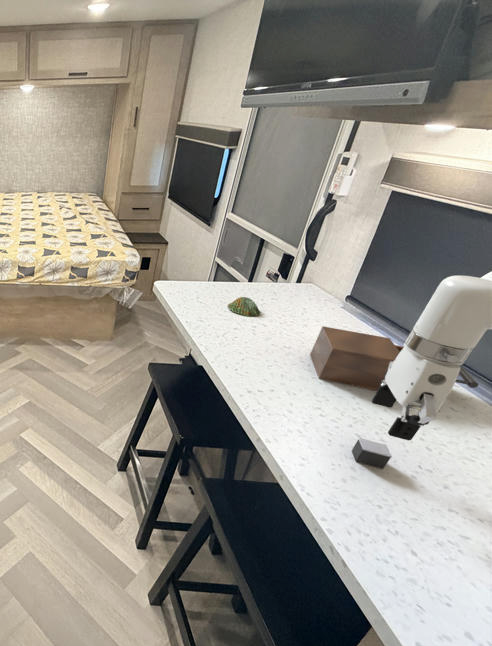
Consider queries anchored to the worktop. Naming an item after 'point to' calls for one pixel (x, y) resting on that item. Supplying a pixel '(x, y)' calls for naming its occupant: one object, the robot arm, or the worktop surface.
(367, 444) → the block
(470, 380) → the drawer
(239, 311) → the seashell
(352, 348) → the cabinet
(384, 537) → the worktop surface
